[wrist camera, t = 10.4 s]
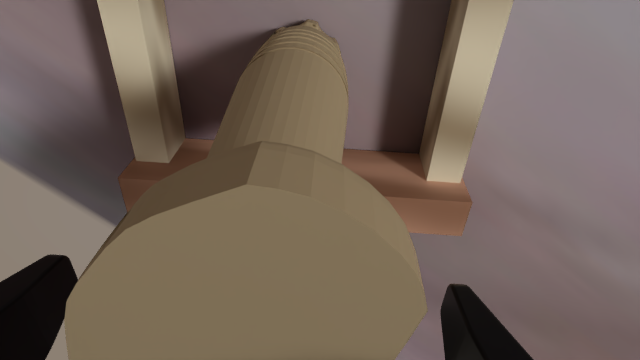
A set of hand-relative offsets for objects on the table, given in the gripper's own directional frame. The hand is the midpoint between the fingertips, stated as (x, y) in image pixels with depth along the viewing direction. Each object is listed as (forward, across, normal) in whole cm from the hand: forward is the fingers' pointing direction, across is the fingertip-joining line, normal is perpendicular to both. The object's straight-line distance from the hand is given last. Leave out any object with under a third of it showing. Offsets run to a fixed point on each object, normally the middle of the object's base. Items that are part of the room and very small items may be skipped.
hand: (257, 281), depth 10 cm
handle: (+12, 0, -2) cm, 13 cm away
